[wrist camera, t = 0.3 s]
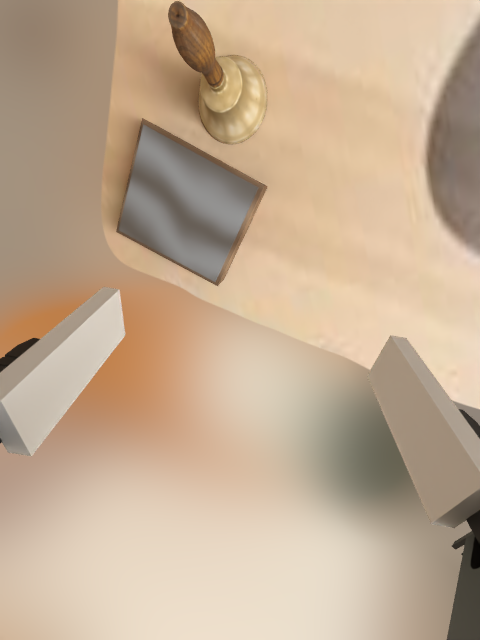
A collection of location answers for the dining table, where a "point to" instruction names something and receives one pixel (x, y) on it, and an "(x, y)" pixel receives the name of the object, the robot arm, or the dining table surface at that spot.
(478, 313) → the dining table surface
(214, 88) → the hand bell
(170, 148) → the walnut stand
